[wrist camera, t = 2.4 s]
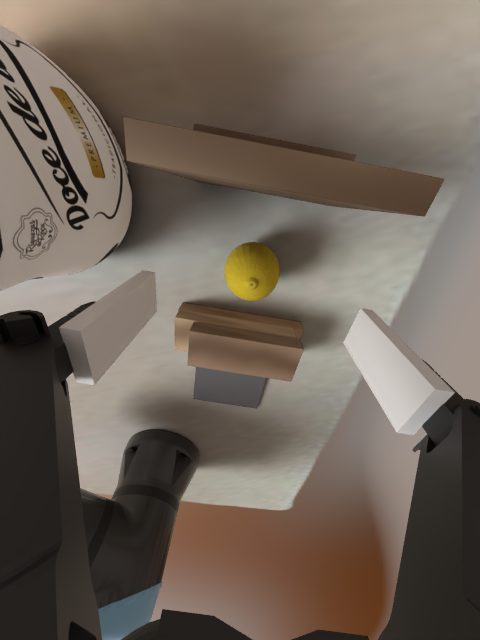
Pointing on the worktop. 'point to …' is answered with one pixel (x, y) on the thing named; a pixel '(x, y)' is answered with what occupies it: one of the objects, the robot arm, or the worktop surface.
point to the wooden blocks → (274, 179)
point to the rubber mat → (228, 387)
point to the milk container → (54, 171)
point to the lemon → (252, 271)
